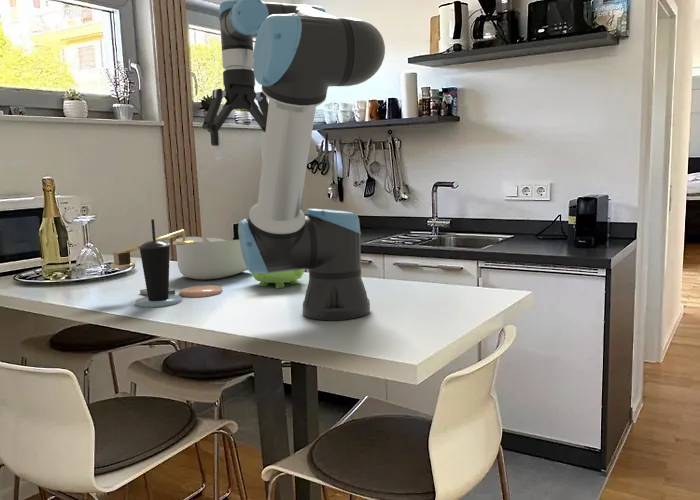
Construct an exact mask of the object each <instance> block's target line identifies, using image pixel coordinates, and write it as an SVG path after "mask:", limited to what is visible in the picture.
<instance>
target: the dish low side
mask: <svg viewBox="0 0 700 500" xmlns="http://www.w3.org/2000/svg"><path fill="white" fill-rule="evenodd" d="M182 297H183V296H181V295H180V294H169V298H168V299H167V300H163V301H149V300H148V296H143V297H141V298H137V299H136V300H135V305H136V306H135V307H140V308H145V309H146V308H148V309H149V308H163V307H169V306H174V305H177V304H179V303H181V302H182V301H183V300H182V299H183V298H182Z"/></svg>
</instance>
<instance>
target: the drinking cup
mask: <svg viewBox="0 0 700 500" xmlns="http://www.w3.org/2000/svg"><path fill="white" fill-rule="evenodd" d="M150 221H151V233H152V239H151V241H150V240H148V241H145V242H142V243H143V244H142V243H141V244H142V245H140V246H138V248H139V251H140V252H139V253H140V258H141V264H142V270H143V275H144V281H145V286H146V287H145V289H147V294H148V300H149V301H163V300H167V299H168V298H169V289H170V251H171V250H170V249H171V248H170V247H172V244H171V243H170V242H166V241H165V240H164V241H160V240H156V238H157V237H156V231H155V230H156V229H155V228H156V227H155V219H153V218H152V219H151V220H150Z"/></svg>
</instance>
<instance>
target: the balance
mask: <svg viewBox="0 0 700 500" xmlns="http://www.w3.org/2000/svg"><path fill="white" fill-rule="evenodd" d="M185 232H186V231H185V230H184V229H183V228H182V229H179V230H177V231H174V232H171V233H169V234H166V235H162V236H159V237H155V238H156V240H160V241H164V242H165V241H167V240H169V239H173V238H175V237H178V236H180V235H182V238H183V240H180V241H176V240H175V241H173V242H172V245H173V246H176V245H190V244H195V243H196V241H195V240H185V237H186V233H185ZM151 240H152V239H151ZM151 240H149V241H151ZM143 243H144V242H142V243H140V244H139V243H138V244H137V245H133V246H130V247H128V248H125V249H121V250H120V251H115V252H114V251H113V263H111V264H110V265H109V267H110V269H125V268H126V269H127V268H132V267H133V268H134V267H135V266H136V262H134V261H131V253H132V252H135V251H138V250H139V251H140V249H139V248H138V246H140V245H142V244H143ZM139 293H140V294H141V295H144V296H145V297H147V296H148V294H147V288H145V289H140V290H139ZM169 294H172V295H176V290H174V289H171V288H169Z"/></svg>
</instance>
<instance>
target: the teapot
mask: <svg viewBox="0 0 700 500" xmlns="http://www.w3.org/2000/svg"><path fill="white" fill-rule="evenodd" d="M304 272H305V270H294V271H285V272H276V273H269V274H253V273H251V275H252V277H253V278H254V279H255V281H258V282H259V284H258V286H259V287H266V286H268V285H269V283H270V284H271V283H272V284H275V289H276V288H277V289H283V287H284V288H285V283H288V282H289V284H290V285H297V284H299V283H298V282H299V281H298V280H300V279H301V278H302V277H303V275H304ZM296 283H297V284H296Z"/></svg>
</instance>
